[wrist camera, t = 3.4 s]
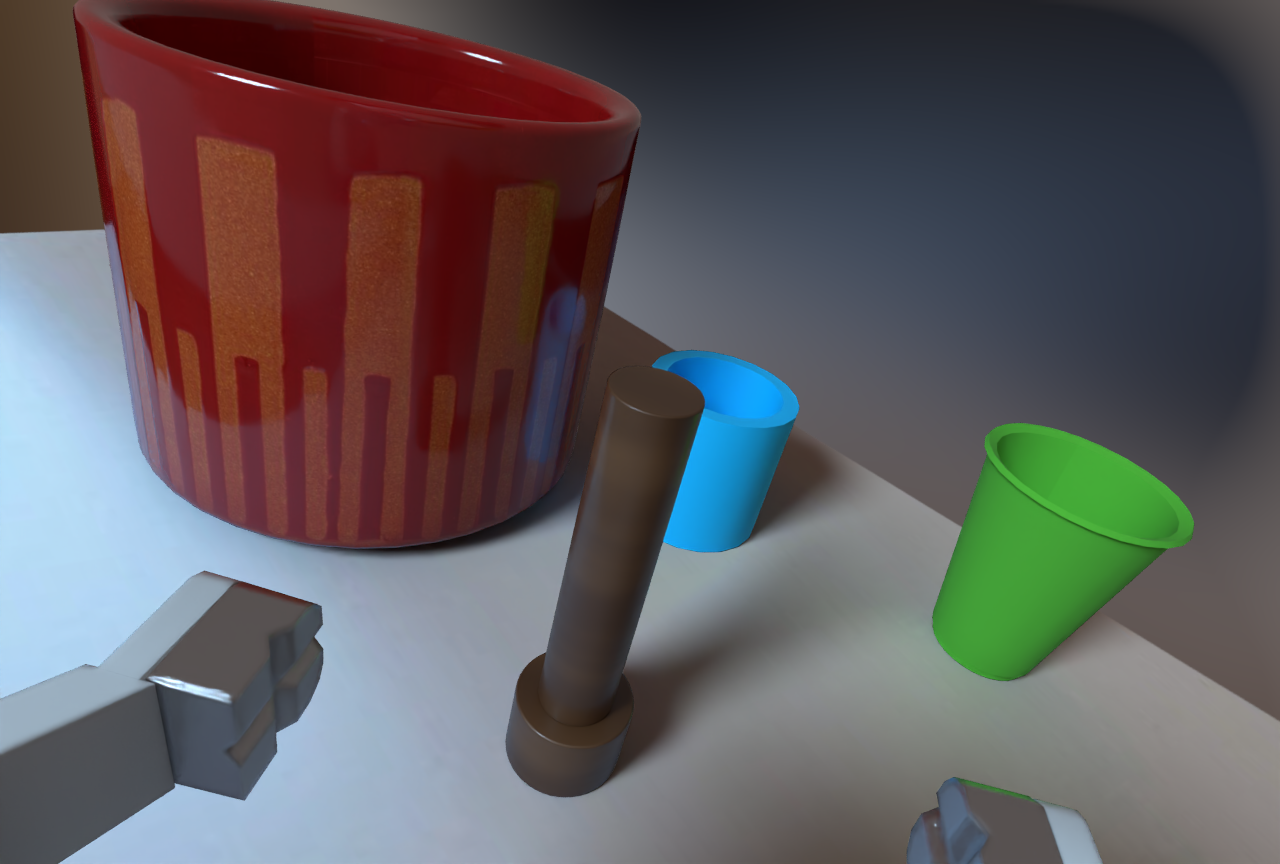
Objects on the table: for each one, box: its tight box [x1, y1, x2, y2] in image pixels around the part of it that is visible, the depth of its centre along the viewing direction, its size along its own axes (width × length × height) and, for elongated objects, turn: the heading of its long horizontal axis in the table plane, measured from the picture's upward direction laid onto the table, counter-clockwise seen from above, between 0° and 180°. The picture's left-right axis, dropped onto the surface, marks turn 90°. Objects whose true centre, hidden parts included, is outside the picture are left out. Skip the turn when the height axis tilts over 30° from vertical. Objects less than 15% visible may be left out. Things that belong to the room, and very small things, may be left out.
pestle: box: [506, 366, 705, 797], centre depth 25 cm, size 4×4×16 cm
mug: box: [652, 350, 799, 552], centre depth 43 cm, size 12×8×8 cm
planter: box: [73, 0, 641, 549], centre depth 38 cm, size 23×23×20 cm
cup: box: [932, 423, 1194, 681], centre depth 36 cm, size 9×9×11 cm
